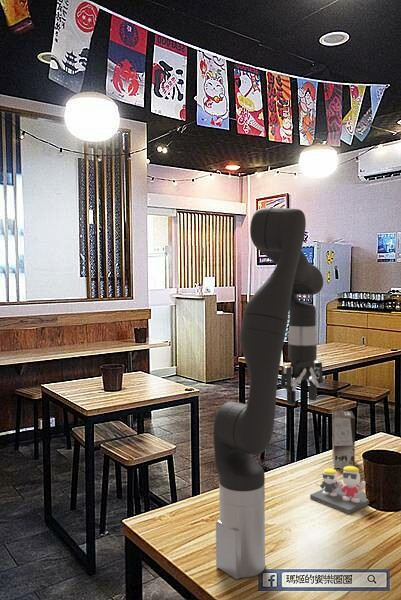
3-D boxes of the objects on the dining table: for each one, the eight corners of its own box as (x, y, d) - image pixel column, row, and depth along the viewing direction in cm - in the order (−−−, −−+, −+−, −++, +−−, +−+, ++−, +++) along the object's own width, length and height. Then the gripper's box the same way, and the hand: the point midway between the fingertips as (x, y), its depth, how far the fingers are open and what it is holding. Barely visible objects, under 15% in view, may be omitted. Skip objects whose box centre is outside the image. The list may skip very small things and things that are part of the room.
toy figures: (317, 493, 136) (317, 462, 136) (324, 488, 140) (324, 458, 139) (361, 505, 129) (361, 472, 128) (367, 499, 132) (367, 467, 132)
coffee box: (355, 470, 155) (355, 418, 154) (333, 468, 156) (333, 417, 156) (352, 459, 164) (352, 410, 163) (332, 458, 165) (331, 409, 165)
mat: (349, 513, 126) (349, 510, 126) (310, 498, 135) (310, 494, 135) (375, 500, 134) (375, 496, 134) (337, 486, 143) (337, 482, 143)
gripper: (295, 345, 130) (295, 408, 130) (330, 341, 139) (330, 400, 139) (273, 343, 136) (273, 403, 136) (308, 339, 144) (308, 396, 145)
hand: (302, 402), depth 138 cm, fingers open, 8 cm apart
